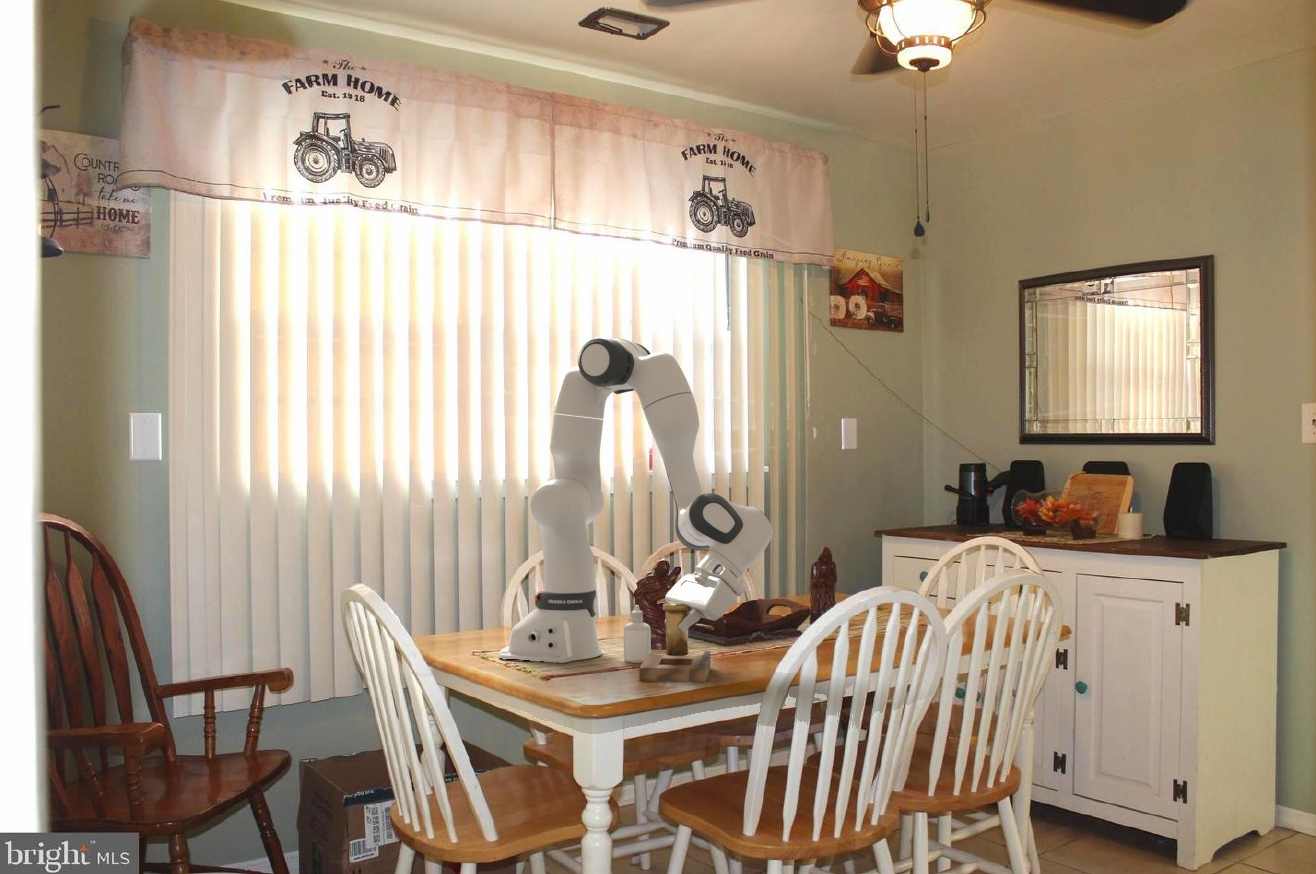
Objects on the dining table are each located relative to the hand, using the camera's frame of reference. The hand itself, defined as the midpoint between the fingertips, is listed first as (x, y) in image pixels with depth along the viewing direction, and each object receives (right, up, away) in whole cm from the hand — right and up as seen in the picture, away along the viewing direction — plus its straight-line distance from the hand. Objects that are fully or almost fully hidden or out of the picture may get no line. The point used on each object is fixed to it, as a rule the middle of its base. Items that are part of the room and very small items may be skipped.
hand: (673, 627), depth 207 cm
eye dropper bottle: (-8, -10, +13) cm, 18 cm away
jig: (0, -9, 0) cm, 9 cm away
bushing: (+1, -5, 0) cm, 5 cm away
